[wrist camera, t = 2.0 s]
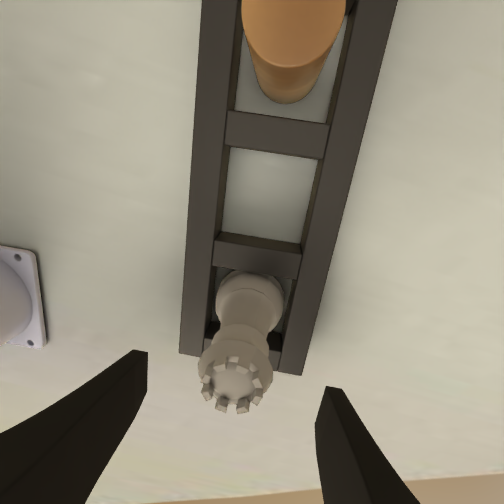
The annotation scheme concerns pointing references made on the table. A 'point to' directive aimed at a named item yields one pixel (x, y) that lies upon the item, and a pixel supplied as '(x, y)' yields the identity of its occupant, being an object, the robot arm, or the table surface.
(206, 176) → the holder
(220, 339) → the rook chess piece
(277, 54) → the beech peg
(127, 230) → the table surface
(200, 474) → the table surface
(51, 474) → the robot arm
